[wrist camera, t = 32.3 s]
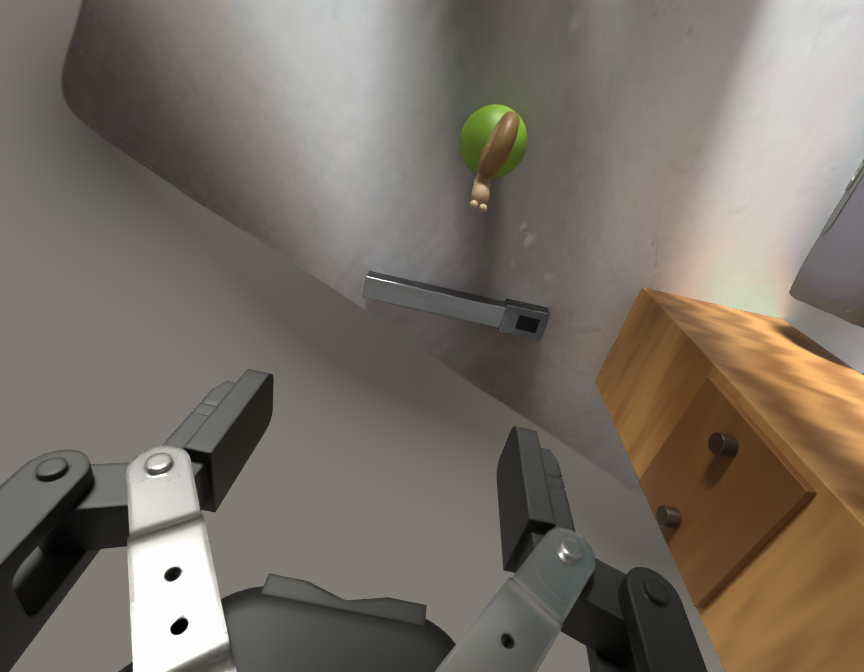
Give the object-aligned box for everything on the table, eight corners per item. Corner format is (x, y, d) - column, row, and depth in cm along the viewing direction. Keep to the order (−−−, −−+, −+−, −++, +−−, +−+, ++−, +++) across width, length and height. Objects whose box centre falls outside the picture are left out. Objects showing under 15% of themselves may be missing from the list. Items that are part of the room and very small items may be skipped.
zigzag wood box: (581, 379, 48) (754, 808, 19) (627, 283, 42) (980, 692, 13) (720, 410, 49) (1094, 872, 20) (784, 320, 43) (1457, 789, 14)
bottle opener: (365, 294, 45) (362, 301, 44) (369, 267, 43) (366, 272, 42) (537, 333, 46) (540, 341, 44) (547, 307, 44) (550, 314, 43)
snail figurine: (447, 169, 38) (438, 195, 28) (475, 93, 35) (477, 90, 25) (501, 192, 39) (513, 226, 28) (534, 119, 36) (561, 126, 25)
